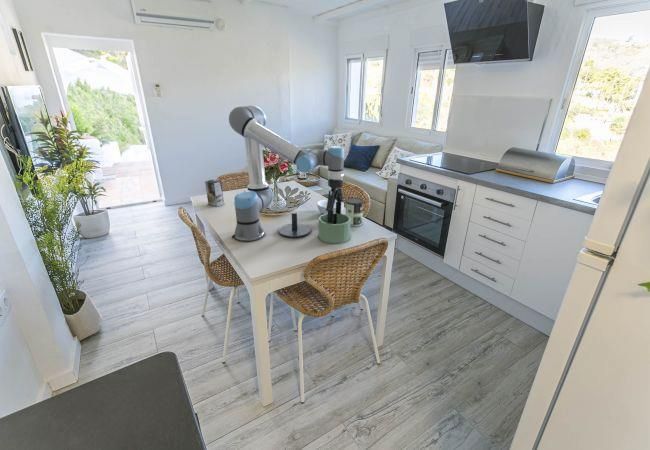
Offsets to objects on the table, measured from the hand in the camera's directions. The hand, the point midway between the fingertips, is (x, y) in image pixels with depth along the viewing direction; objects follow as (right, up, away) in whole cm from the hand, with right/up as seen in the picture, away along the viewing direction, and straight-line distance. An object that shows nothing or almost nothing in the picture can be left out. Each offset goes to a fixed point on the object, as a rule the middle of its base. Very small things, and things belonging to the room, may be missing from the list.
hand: (334, 218), depth 164 cm
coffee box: (-79, +10, +50) cm, 94 cm away
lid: (-22, -7, +10) cm, 25 cm away
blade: (0, -9, +4) cm, 10 cm away
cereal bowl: (-1, +3, +35) cm, 36 cm away
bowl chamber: (0, -10, +4) cm, 11 cm away
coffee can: (+12, -3, +22) cm, 25 cm away
